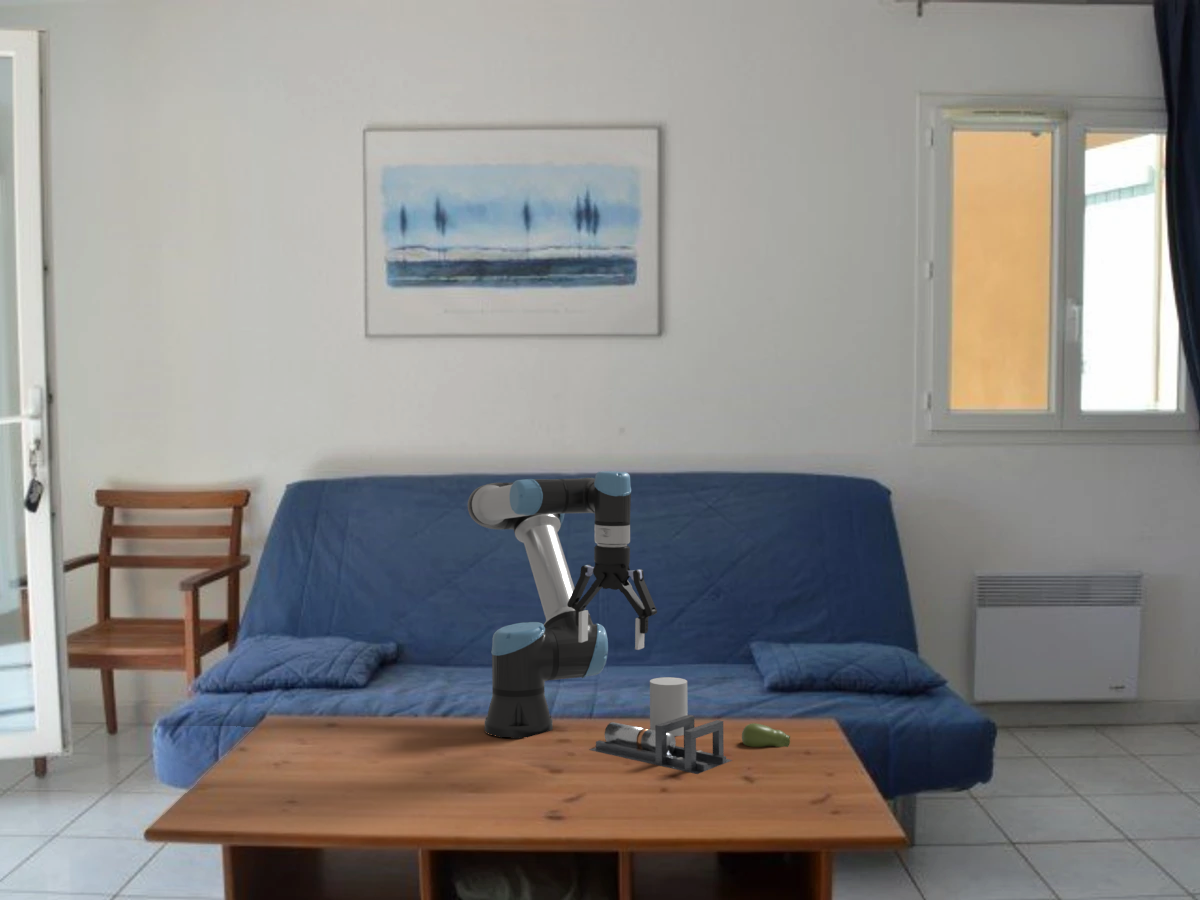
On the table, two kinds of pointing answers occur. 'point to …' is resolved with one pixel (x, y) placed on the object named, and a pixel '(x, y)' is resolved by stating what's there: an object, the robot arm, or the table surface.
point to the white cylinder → (668, 701)
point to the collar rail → (676, 747)
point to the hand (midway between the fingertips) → (611, 645)
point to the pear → (764, 736)
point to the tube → (636, 737)
